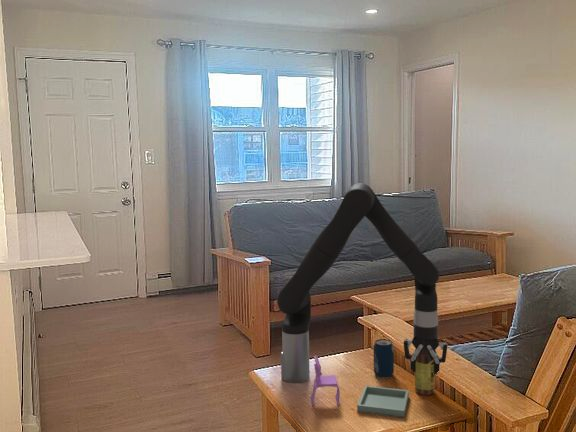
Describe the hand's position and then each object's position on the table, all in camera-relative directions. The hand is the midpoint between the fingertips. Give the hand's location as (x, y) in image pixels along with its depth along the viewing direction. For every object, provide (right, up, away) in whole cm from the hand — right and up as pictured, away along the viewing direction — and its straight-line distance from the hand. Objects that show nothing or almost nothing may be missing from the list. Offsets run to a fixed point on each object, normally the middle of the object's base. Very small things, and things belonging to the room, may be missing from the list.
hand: (425, 372), depth 176 cm
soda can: (-11, -5, +15) cm, 19 cm away
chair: (-33, -8, -4) cm, 34 cm away
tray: (-15, -8, -7) cm, 18 cm away
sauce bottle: (0, -7, +1) cm, 7 cm away
